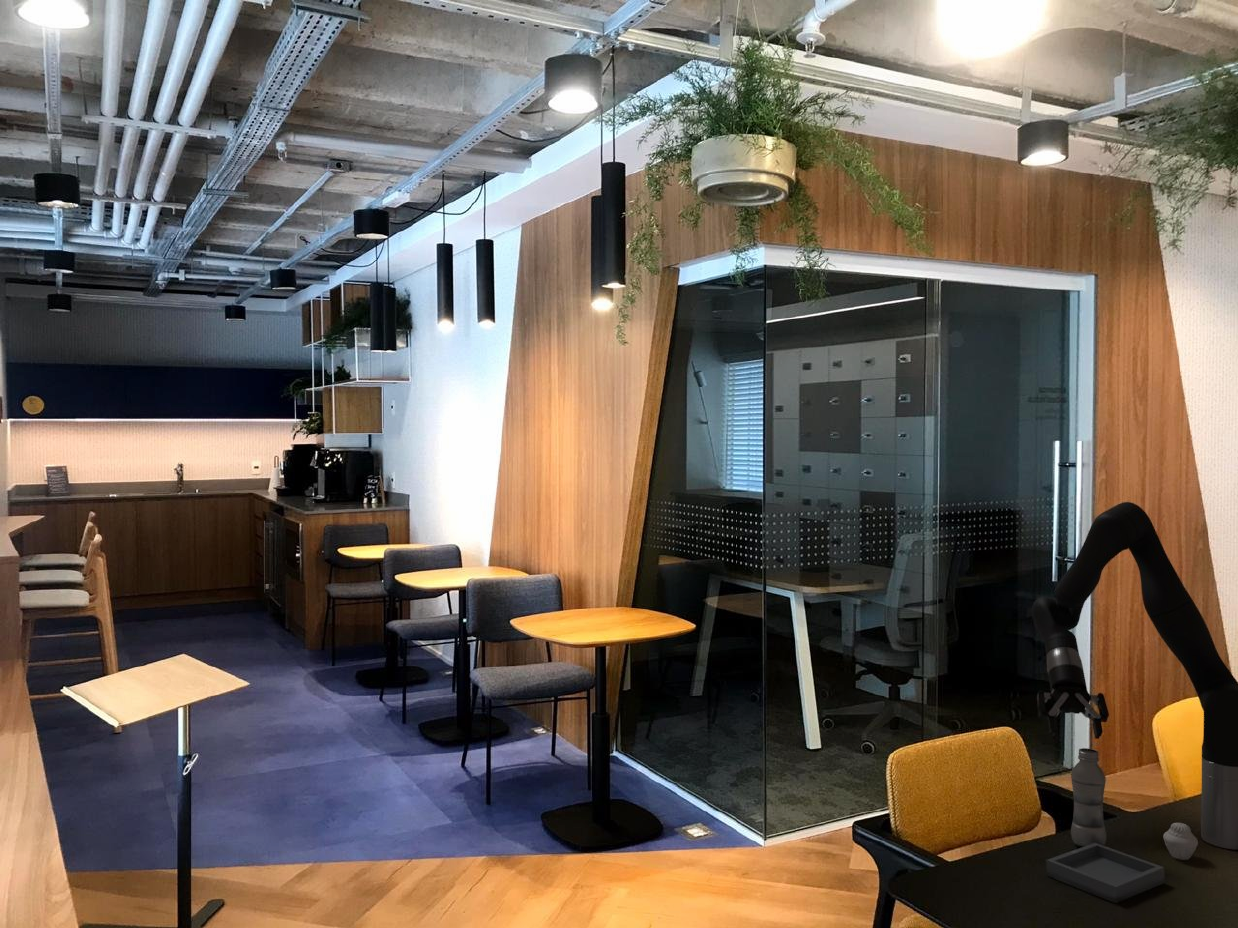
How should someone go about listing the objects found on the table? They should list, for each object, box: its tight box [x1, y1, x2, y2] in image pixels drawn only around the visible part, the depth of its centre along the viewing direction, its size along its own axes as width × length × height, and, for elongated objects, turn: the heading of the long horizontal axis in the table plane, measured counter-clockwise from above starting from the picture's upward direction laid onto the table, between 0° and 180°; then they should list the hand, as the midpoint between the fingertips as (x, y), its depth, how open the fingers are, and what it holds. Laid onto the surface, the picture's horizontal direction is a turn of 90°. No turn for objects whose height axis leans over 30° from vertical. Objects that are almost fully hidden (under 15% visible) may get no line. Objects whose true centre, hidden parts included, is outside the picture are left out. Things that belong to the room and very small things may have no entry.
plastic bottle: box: [1070, 747, 1107, 848], centre depth 205 cm, size 6×7×20 cm
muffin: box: [1162, 822, 1199, 861], centre depth 200 cm, size 6×6×7 cm
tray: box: [1045, 843, 1165, 904], centre depth 189 cm, size 16×14×3 cm
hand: (1076, 735), depth 215 cm, fingers open, 8 cm apart
